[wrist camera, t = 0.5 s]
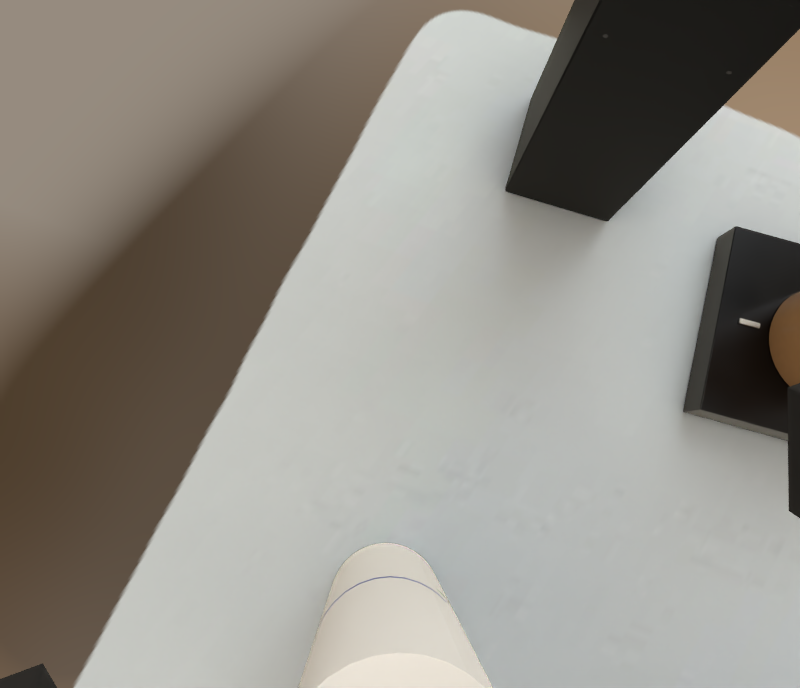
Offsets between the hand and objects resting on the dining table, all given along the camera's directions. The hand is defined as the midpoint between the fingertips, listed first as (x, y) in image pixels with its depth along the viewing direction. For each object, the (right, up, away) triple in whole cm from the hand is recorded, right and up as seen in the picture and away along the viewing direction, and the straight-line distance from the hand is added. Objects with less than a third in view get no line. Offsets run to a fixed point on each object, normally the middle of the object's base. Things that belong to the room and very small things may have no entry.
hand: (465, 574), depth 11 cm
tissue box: (+11, +17, +38) cm, 43 cm away
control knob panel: (+27, +3, +36) cm, 45 cm away
